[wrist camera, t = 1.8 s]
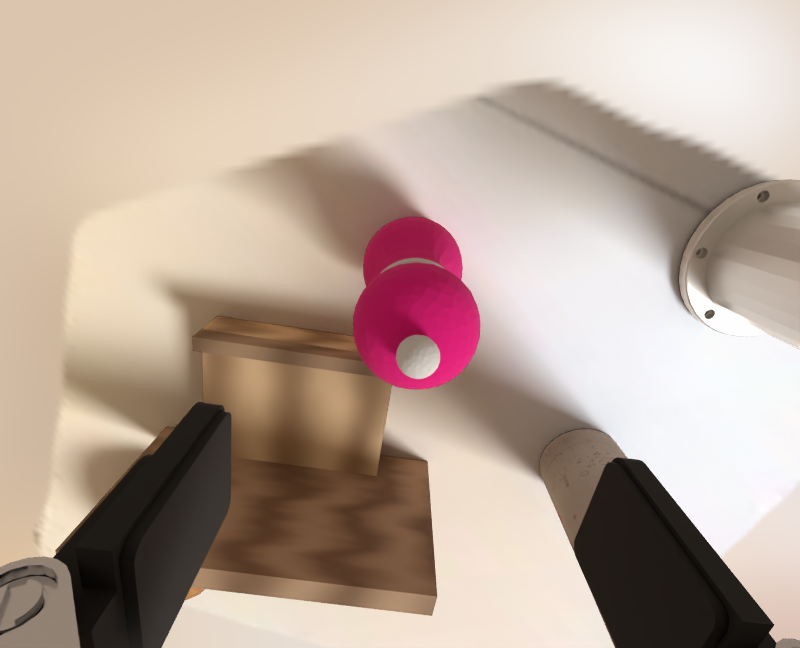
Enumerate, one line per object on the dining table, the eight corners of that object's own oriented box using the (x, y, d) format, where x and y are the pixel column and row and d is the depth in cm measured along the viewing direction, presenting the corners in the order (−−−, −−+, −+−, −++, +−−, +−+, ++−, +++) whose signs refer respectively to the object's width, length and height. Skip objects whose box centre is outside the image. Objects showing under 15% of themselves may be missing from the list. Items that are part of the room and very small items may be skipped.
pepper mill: (363, 214, 33) (310, 282, 15) (454, 206, 33) (516, 267, 14) (372, 299, 36) (337, 450, 17) (457, 293, 36) (512, 439, 17)
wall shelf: (452, 350, 38) (476, 451, 25) (424, 477, 43) (432, 615, 30) (159, 307, 37) (22, 389, 24) (167, 443, 42) (59, 571, 29)
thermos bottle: (564, 504, 44) (793, 1004, 18) (523, 455, 42) (719, 944, 16) (633, 467, 42) (1002, 965, 16) (595, 414, 40) (952, 892, 14)
